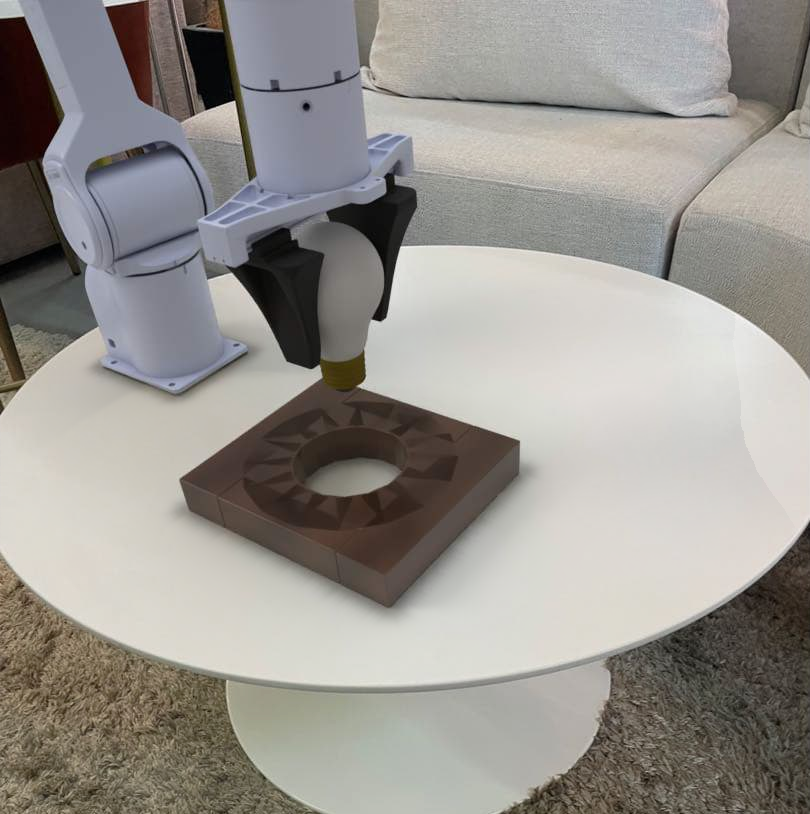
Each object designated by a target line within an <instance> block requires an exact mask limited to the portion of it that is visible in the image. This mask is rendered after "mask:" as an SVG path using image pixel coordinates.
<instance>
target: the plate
mask: <svg viewBox="0 0 810 814" xmlns="http://www.w3.org/2000/svg"><path fill="white" fill-rule="evenodd" d="M520 455H521V440H520V439H517V438H514V437H511V436H508V435H505V434H501V433H500V432H499V433H498V432H495V431H492V430H490V429H486V428H484V427H480V426H477V425H473V424H470V423H467V422H464V421H461V420H459V419H456V418H453V417H449V416H446V415H443V414H441V413H437V412H435V411H432V410H429V409H425V408H422V407H419V406H417V405H413V404H411V403H407V402H404V401H401V400H398V399H394V398H392V397H389V396H386V395H383V394H380V393H378V392H375V391H372V390H368V389H365V388H362V387H359V386H356V387H355V388H354V389H353V390H352V391H350V392H340V391H337V390H335V389H333V388H330V387H328V386H326V385H325V384H324V382H323V377H321V378H320V379H318V380H317V381H315V382H314V383H312V384H311V385H310V386H308V387H307V388H306V389H303V390H302V391H301V392H300V393H298V394H297V395H295V396H294V397H293V398H291V399H290V400H289V401H287V402H286V403H284V404H283V405H282V406H280V407H279V408H277V409H275V411H273V412H271V413H270V414H269V415H267V416H266V417H264V418H263V419H262V420H260V421H259V422H258V423H256V424H255V425H253V426H252V427H250V428H249V429H248V430H246V431H245V432H244V433H242V434H241V435H239V436H238V437H236V438H235V439H233V440H232V441H231V442H229V443H228V444H226V445H225V446H224V447H222V448H221V449H219V450H218V451H216V452H215V453H214V454H212V455H211V456H209V457H208V458H207V459H205V460H204V461H202V462H201V463H200V464H198V465H197V466H195V467H194V468H193V469H191V470H190V471H188V472H187V473H186V474H184V475H183V476H181V477H180V478H179V479H178V481H179V485H180V487H181V490H182V493H183V497H184V499H185V503H186V506H187V509H188V511H189V512H193V513H194V514H196V515H199V516H201V517H203V518H204V519H207V520H209V521H210V522H213V523H215V524H217V525H219V526H221V527H223V528H226V529H227V530H229V531H232V532H234V533H235V534H237V535H239V536H242V537H244V538H245V539H248V540H250V541H252V542H254V543H256V544H258V545H261V547H264V548H266V549H268V550H271V551H272V552H274V553H276V554H279V555H281V556H283V557H285V558H287V559H289V560H290V561H293V562H294V563H297V564H299V565H301V566H304V567H305V568H308V569H309V570H312V571H313V572H316V573H317V574H319V575H322V576H324V577H326V578H327V579H330V580H332V581H334V582H336V583H338V584H341V585H342V586H344V587H345V588H348V589H349V590H352V591H354V592H356V593H358V594H360V595H362V596H364V597H366V598H369V599H370V600H371V601H374V602H376V603H379V604H381V605H382V606H385V607H387V608H391V606H392V605H393V604H395V603H396V601H397V600H398V599H399V598H400V597H401V596H402V595H403V594H404V592H406V591H407V589H408V588H410V586H412V584H413V583H414V582H415V581H416V580H417V579H418V578H419V577H420V576H421V575H422V574H423V573H424V572H425V571H426V570H427V569H428V568H429V567H430V566H431V565H432V564H433V563H434V562H435V561H436V560H437V558H439V556H440V555H441V554H442V553H444V551H445V550H446V549H447V548H448V547H449V546H450V545H451V544H452V543H453V542H454V541H455V540H456V539H457V538H458V537H459V536H460V535H461V533H462V532H464V530H466V528H467V527H469V525H471V523H472V522H473V521H474V520H475V519H476V518H477V517H478V516H479V515H480V514H481V513H482V512H483V511H484V510H485V509H486V508H487V507H488V506H489V504H490V503H492V501H494V500H495V498H496V497H497V496H498V495H499V494H500V493H501V492H502V491H503V490H504V489H505V488H506V487H507V486H508V485H509V484H510V483H511V482H512V480H514V479H515V477H516V476H518V474H520V461H521V460H520V459H521V458H520V457H521V456H520ZM353 459H354V460H355V459H371V460H380V461H382V462H384V463H387V464H389V465H390V464H391V465H392V466H396V467H397V468H398V469H399V470H400V471H401V473H399V474H398V475H396V476H395V478H394V479H392V480H391V481H390V482H389V483H388V484H385V485H383V486H381V487H378V488H376V489H374V490H371V491H369V492H365V493H359V494H353V495H346V496H345V495H332V494H331V495H330V494H323V493H320V492H318V491H316V490H313V489H311V488H308V487H306V486H304V484H305V482H306V481H307V479H309V478H310V477H312V475H313V474H315V473H316V472H317V471H318V470H320V469H322V468H324V467H326V466H330V465H331V464H335V463H336V462H341V461H346V460H347V461H348V460H353Z"/></svg>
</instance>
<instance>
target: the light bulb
mask: <svg viewBox="0 0 810 814" xmlns="http://www.w3.org/2000/svg"><path fill="white" fill-rule="evenodd" d="M291 238H292V240H294V239H297V240H298V244H299V247H301V248H305V249H310V250H314V251H318V252H322V253H323V254H324V255H325V257H324V260H323V264H322V268H321V273H320V279H319V287H318V308H317V311H318V323H319V332H320V342H321V359H320V365H319V367H320V372H321V378H323V382H324V384H325V385H326V386H328V387H330V388H333V389H335V390H337V391H340V392H350V391H352V390H353V389H354V388H355V387H359V386H360V385H361V384H363V383H364V382H365V380H366V377H367V374H366V372H367V369H366V357H365V354H366V351H365V347H366V345H367V342H368V337H369V328H370V324H371V322H372V320H371V319H372V317H373V315H374V313H375V311H376V309H377V307H378V306H379V303H380V301H381V297H382V294H383V289H384V271H383V266H382V262H381V260H380V257H379V255H378V253H377V251H376V249H375V247H374V246H373V244H372V243H371V242H370V241H369V240H368V239H367V238H366V237H365V236H364V235H363V234H362V233H361V232H359V231H358V230H356V229H355V228H353V227H351V226H348V225H346V224H343V223H338V222H330V221H321V222H315V223H312V224H310V225H307V226H306V227H304V228H302V229H300V230H298V231H297V232H296V233H295V234H294V235H293V236H291Z"/></svg>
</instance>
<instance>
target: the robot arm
mask: <svg viewBox="0 0 810 814" xmlns="http://www.w3.org/2000/svg"><path fill="white" fill-rule="evenodd" d="M17 2H18V4H19V7H20V9H21V12H22V14H23V17H24V19H25V21H26V24H27V26H28V29H29V31H30V33H31V36H32V38H33V40H34V41H33V42H34V44H35V45H36V48H37V50H38V53H39V55H40V57H41V60H42V63H43V65H44V68H45V70H46V72H47V74H48V78H49V80H50V82H51V85H52V87H53V90H54V92H55V94H56V96H57V100H58V101H59V104H60V106H61V108H62V111H63V113H64V117H63V119H62V122H61V124H60V125H59V127H58V129H57V131H56V133H55V134H54V136H53V138H52V139H51V141H50V143H49V145H48V147H47V149H46V150H45V152H44V156H43V158H42V163H41V164H42V167H43V174H44V177H45V179H46V182H47V185H48V187H49V189H50V194H51V196H52V201H53V207H54V211H55V214H56V215H55V216H56V217H57V221H58V223H59V226H60V228H61V230H62V233H63V235H64V236H65V238H66V240H67V242H68V243H69V245H70V246H71V247H70V248H71V249H72V250H73V251H74V253H75V254H76V255H77V256H78V257H79V258H80V259H81V261H82V262H84V263H85V264H87V265H86V268H85V273H84V287H85V291H86V292H85V293H86V295H87V298H88V300H89V303H90V304H89V305H90V306H91V309H92V312H93V314H94V315H93V316H94V317H95V318H94V319H95V321H96V323H97V327H98V329H99V332H100V334H101V337H102V340H103V343H104V346H105V349H106V351H107V354H108V355H106V356H104V357H102V358H101V359H100V364H101V366H102V367H104V368H107V369H109V370H112V371H115V372H117V373H120V374H123V375H125V376H128V377H130V378H132V379H135V380H138V381H140V382H143V383H146V384H148V385H151V386H152V387H156V388H158V389H160V390H163V391H166V392H168V393H171V394H174V395H178V394H181V393H183V392H185V391H186V390H187V389H189V388H191V387H193V386H194V385H197V383H199V382H200V381H202V380H204V379H206V378H207V377H209V376H210V375H211V374H213V373H215V372H217V371H218V370H220V369H221V368H223V367H225V366H226V365H227V364H229V363H231V362H232V361H234V360H236V359H237V358H238V357H240V356H243V355H244V354H245V353H247V351H248V345H247V344H245V343H242V342H239V341H237V340H234V339H231V338H227V337H224V336H222V334H221V330H220V325H219V322H218V318H217V314H216V310H215V306H214V302H213V297H212V293H211V289H210V285H209V280H208V278H207V273H206V268H205V265H204V260H203V257H202V252H201V249H203V253H204V257H205V260H206V261H208V262H211V263H215V264H218V265H221V266H224V267H226V268H227V269H228V270H229V271H230V273H231V274H232V275H233V276H234V277H235V278H236V279H237V281H238V282H239V283H240V284H241V285H242V286H243V288H244V289H245V290H246V292H247V293H248V294H249V296H250V297H251V299H252V300H253V301H254V303H255V304H256V306H257V307H258V309H259V310H260V312H261V314H262V316H263V317H264V319H265V321H266V323H267V324H268V326H269V328H270V330H271V332H272V334H273V336H274V338H275V339H276V342H277V344H278V347H279V349H280V351H281V353H282V355H283V357H284V360H285V361H286V363H290V364H292V365H295V366H299V367H302V368H305V369H308V370H314V369H315V368H317V367H318V366H320V359H321V342H320V332H319V323H318V311H317V308H318V287H319V279H320V273H321V268H322V264H323V260H324V257H325V255H324V254H323V253H322V252H318V251H314V250H310V249H305V248H301V247H299V244H298V240H297V239H294V240H292V232H291V231H292V230H294V229H297V228H298V227H301V226H302V225H303V224H305V223H308V222H309V221H311V220H313V219H316V218H317V217H319V216H321V215H323V214H324V213H325V215H326V216H327V218H328V222H338V223H343V224H346V225H348V226H351V227H353V228H355V229H356V230H358V231H359V232H361V233H362V234H363V235H364V236H365V237H366V238H367V239H368V240H369V241H370V242H371V243H372V244H373V246H374V247H375V249H376V251H377V253H378V255H379V257H380V260H381V262H382V266H383V271H384V289H383V294H382V297H381V301H380V303H379V306H378V307H377V309H376V311H375V313H374V315H373V317H372V319H371V321H375V322H378V323H382V322H383V321H384V320H386V319H387V318H388V313H389V308H390V302H391V296H392V289H393V283H394V278H395V272H396V266H397V262H398V257H399V254H400V250H401V247H402V244H403V241H404V238H405V234H406V232H407V230H408V228H409V225H410V223H411V221H412V218H413V216H414V214H415V213H416V210H417V208H418V196H417V195H418V193H417V190H416V189H415V188H413V187H410V186H405V185H401V184H396V179H395V177H400V178H402V177H406V176H409V175H410V174H412V173H414V172H415V160H414V144H413V143H414V142H413V135H411V134H410V135H409V134H404V133H403V134H402V133H394V132H387V131H383V132H381V133H379V134H376V135H374V136H371V137H368V133H367V125H366V113H365V104H364V102H365V101H364V92H363V83H362V72H361V63H360V53H359V42H358V31H357V22H356V21H357V20H356V11H355V2H354V0H223V2H224V3H223V4H224V7H225V13H226V18H227V24H228V29H229V33H230V39H231V40H230V41H231V45H232V50H233V56H234V61H235V66H236V73H237V75H238V82H239V88H240V89H239V90H240V93H241V94H240V95H241V98H242V104H243V108H244V115H245V119H246V125H247V129H248V135H249V140H250V146H251V150H252V157H253V162H254V168H255V172H256V176H255V177H254V178H252V179H251V180H250V181H248V182H247V184H245V185H244V186H243V187H242V188H240V189H239V190H238V191H237V192H235V194H233V195H232V196H231V197H230V198H229V199H227V201H225V202H224V203H223V204H222V205H220V206H219V207H218V208H216V207H215V206H216V205H215V196H214V192H213V187H212V185H211V181H210V179H209V176H208V174H207V172H206V170H205V169H204V167H203V165H202V163H201V162H200V161H199V159H198V157H197V156H196V154H195V153H194V151H193V148H192V147H191V145H190V142H189V139H188V138H187V135H186V133H185V130H184V128H183V126H182V124H181V123H180V122H179V121H178V120H177V119H175V118H173V117H171V116H170V115H168V114H166V113H164V112H162V111H160V110H158V109H157V108H154V107H153V106H150V105H149V104H147V103H145V102H144V101H142V100H141V99H140V98H139V96H138V94H137V92H136V88H135V86H134V83H133V80H132V78H131V75H130V72H129V69H128V67H127V64H126V61H125V58H124V55H123V52H122V50H121V48H120V44H119V42H118V40H117V36H116V34H115V32H114V28H113V25H112V22H111V20H110V17H109V15H108V12H107V10H106V7H105V4H104V0H17ZM136 148H142V149H144V150H146V151H148V152H144V153H141V154H137V155H135V156H131V157H128V158H125V159H124V158H123V159H122V160H118V161H114V162H112V163H109V164H105V165H102V166H98V167H95V168H92V169H89V167H90V165H92V163H94V162H96V161H98V160H100V159H102V158H106V157H109V156H112V155H115V154H119V153H122V152H126V151H130V150H133V149H136ZM215 208H216V209H215Z"/></svg>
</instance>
